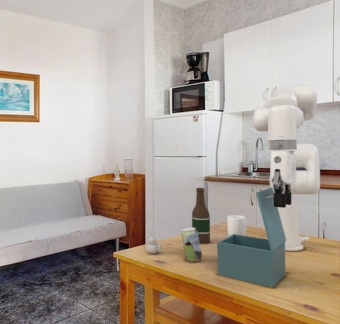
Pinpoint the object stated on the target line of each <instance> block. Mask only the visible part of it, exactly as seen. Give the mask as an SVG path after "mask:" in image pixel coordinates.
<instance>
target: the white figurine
mask: <svg viewBox="0 0 340 324" xmlns="http://www.w3.org/2000/svg"><path fill="white" fill-rule="evenodd" d="M146 241H147V244H146V245H145V251H146V252H147V253H148V254H150V255H151V254H152V255H153V254H157V253H158V252H161V251H162V247H163V245H162V244H161V243H158V241H157V238H156V237H155V236H154V235H153V234H152V233H150V237H149V238H148V239H147V240H146Z"/></svg>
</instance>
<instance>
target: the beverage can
mask: <svg viewBox="0 0 340 324" xmlns="http://www.w3.org/2000/svg"><path fill="white" fill-rule="evenodd" d="M180 235H181V240H182V245H183V252H184V257H185V259H186V260H187V261H189V262H197V261H200V260H201V259H202V258H203V254H202V253H203V252H202V247H201V244H200V242H199V236H198V232H197V230H196V229H195V228H192V227H185V228H183V229H181V233H180Z"/></svg>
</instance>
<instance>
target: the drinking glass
mask: <svg viewBox="0 0 340 324" xmlns="http://www.w3.org/2000/svg"><path fill="white" fill-rule="evenodd" d="M226 229H227V237H229V236H230V235H232V234H236V235H243V236H247V217H246V216H245V215H238V214H231V215H227V217H226Z"/></svg>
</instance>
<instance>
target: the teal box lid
mask: <svg viewBox="0 0 340 324" xmlns="http://www.w3.org/2000/svg"><path fill="white" fill-rule="evenodd" d="M255 194H256V199H257V202H258V206H259V210H260V214H261V219H262V222H263V225H264V229H265V234H266V238H267V239H268V241H269V245H270V249H271V250H274V249H276V248H277V247H278V246H280V245H281V244H282V243H284V242H285V241H286V237H285V233H284V230H283V226H282V222H281V218H280V215H279V211H278V207H274V193H273V188H270V187H269V188H265V189H262V190H259V191H256V192H255Z"/></svg>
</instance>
